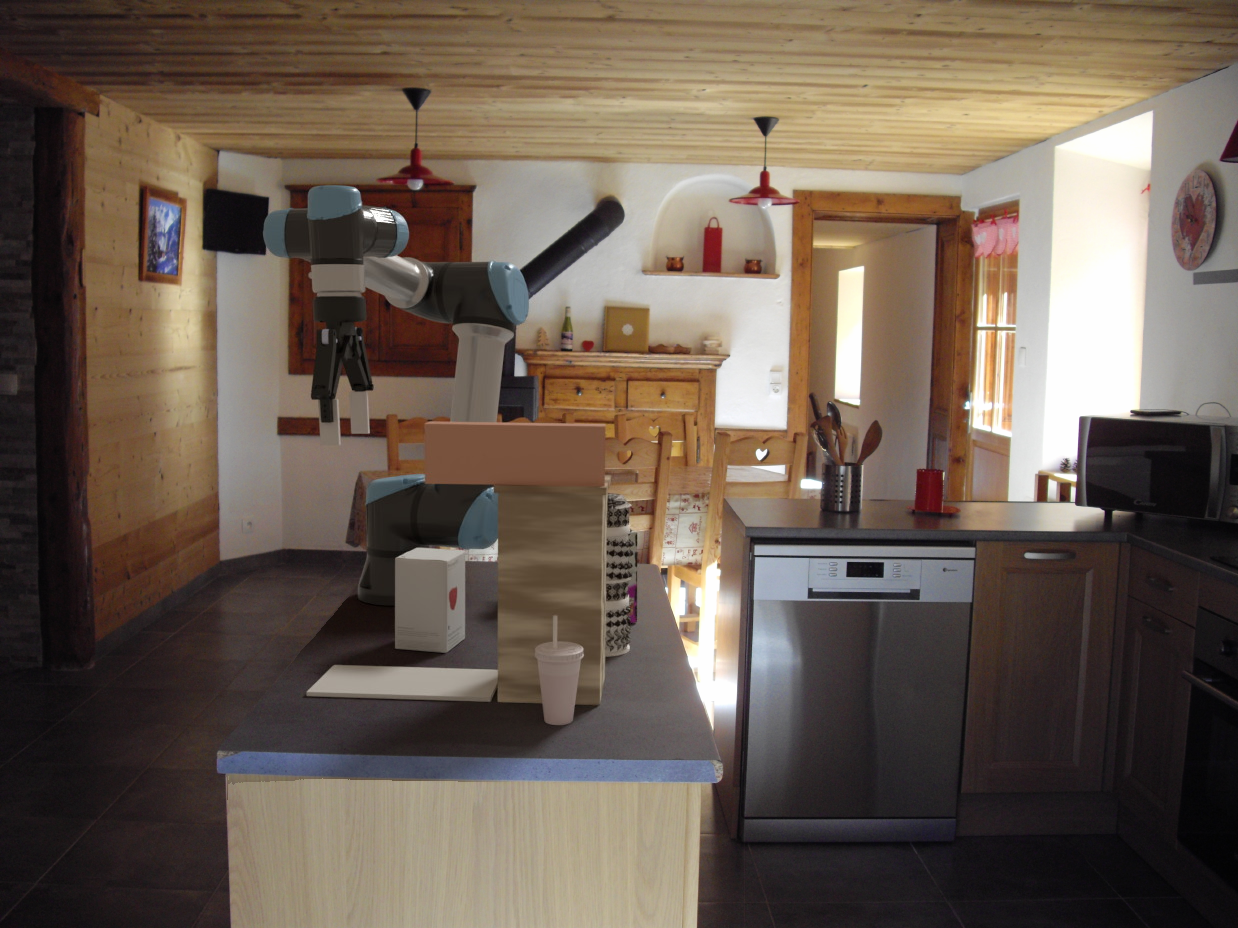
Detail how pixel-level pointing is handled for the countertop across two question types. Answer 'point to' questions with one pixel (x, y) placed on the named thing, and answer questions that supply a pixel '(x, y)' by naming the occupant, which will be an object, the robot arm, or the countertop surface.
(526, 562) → the stand
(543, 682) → the smoothie
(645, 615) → the countertop surface
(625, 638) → the decorative candle
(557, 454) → the block
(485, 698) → the mat
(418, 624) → the supplement box
